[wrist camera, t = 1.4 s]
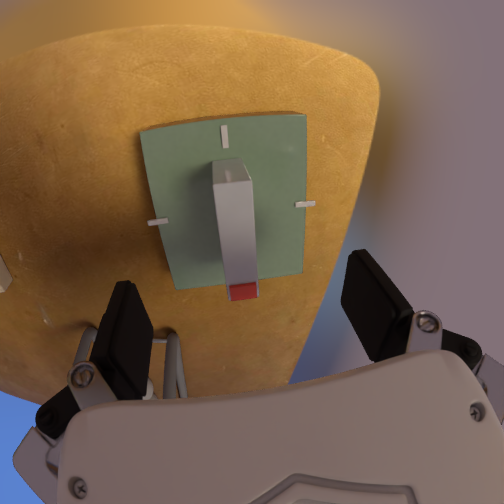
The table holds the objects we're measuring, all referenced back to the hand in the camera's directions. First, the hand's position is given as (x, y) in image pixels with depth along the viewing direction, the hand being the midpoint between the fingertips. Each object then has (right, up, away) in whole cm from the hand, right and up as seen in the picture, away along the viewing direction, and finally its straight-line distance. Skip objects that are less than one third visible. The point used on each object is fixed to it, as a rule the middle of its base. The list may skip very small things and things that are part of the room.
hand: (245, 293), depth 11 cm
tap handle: (-1, +4, +6) cm, 7 cm away
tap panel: (-1, +6, +9) cm, 11 cm away
